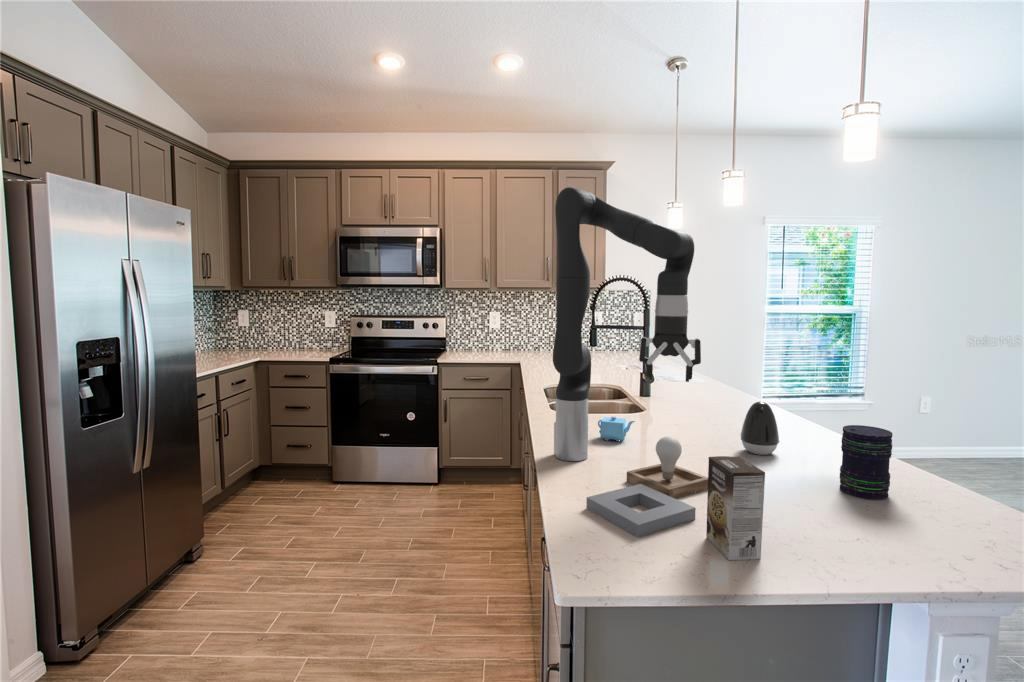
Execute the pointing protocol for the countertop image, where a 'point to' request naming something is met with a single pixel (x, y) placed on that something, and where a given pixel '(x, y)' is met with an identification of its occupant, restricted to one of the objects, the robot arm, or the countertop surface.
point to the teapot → (613, 428)
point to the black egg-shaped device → (760, 430)
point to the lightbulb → (668, 455)
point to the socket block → (640, 523)
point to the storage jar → (865, 462)
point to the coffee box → (735, 507)
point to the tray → (675, 488)
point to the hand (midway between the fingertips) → (668, 380)
